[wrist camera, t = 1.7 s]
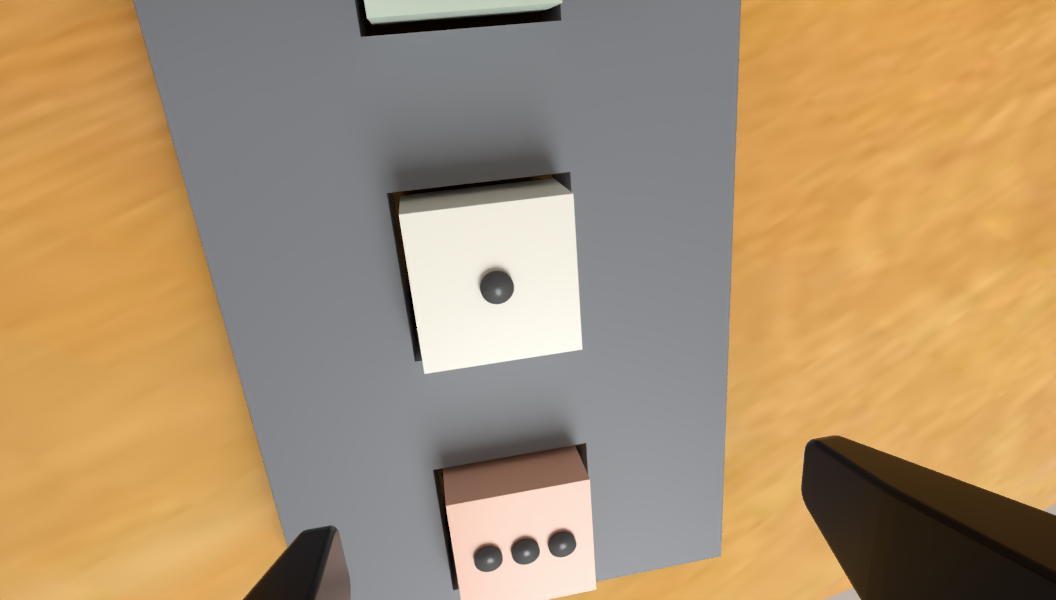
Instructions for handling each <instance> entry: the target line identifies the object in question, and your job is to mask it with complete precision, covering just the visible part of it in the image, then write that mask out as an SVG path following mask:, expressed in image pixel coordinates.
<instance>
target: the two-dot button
mask: <svg viewBox="0 0 1056 600" xmlns="http://www.w3.org/2000/svg"><path fill="white" fill-rule="evenodd" d="M364 3H365V10H366V16H367V19H368V20H369V21H370V22H371V23H372V25H384V24H396V23H409V22H421V21H434V20H446V19H459V18H471V17H484V16H496V15H509V14H521V13H534V12H543V11H545V10H547V9H550V8H552V7H554V6H556V5H559V4H561V3H562V0H364Z"/></svg>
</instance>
